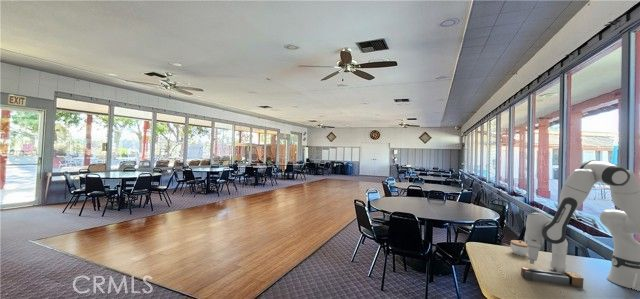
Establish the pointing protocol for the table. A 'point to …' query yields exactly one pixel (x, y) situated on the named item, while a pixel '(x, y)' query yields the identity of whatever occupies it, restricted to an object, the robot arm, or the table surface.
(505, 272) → the table surface
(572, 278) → the tong base
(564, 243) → the water bottle
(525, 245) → the lidded jar
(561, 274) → the tong arm
